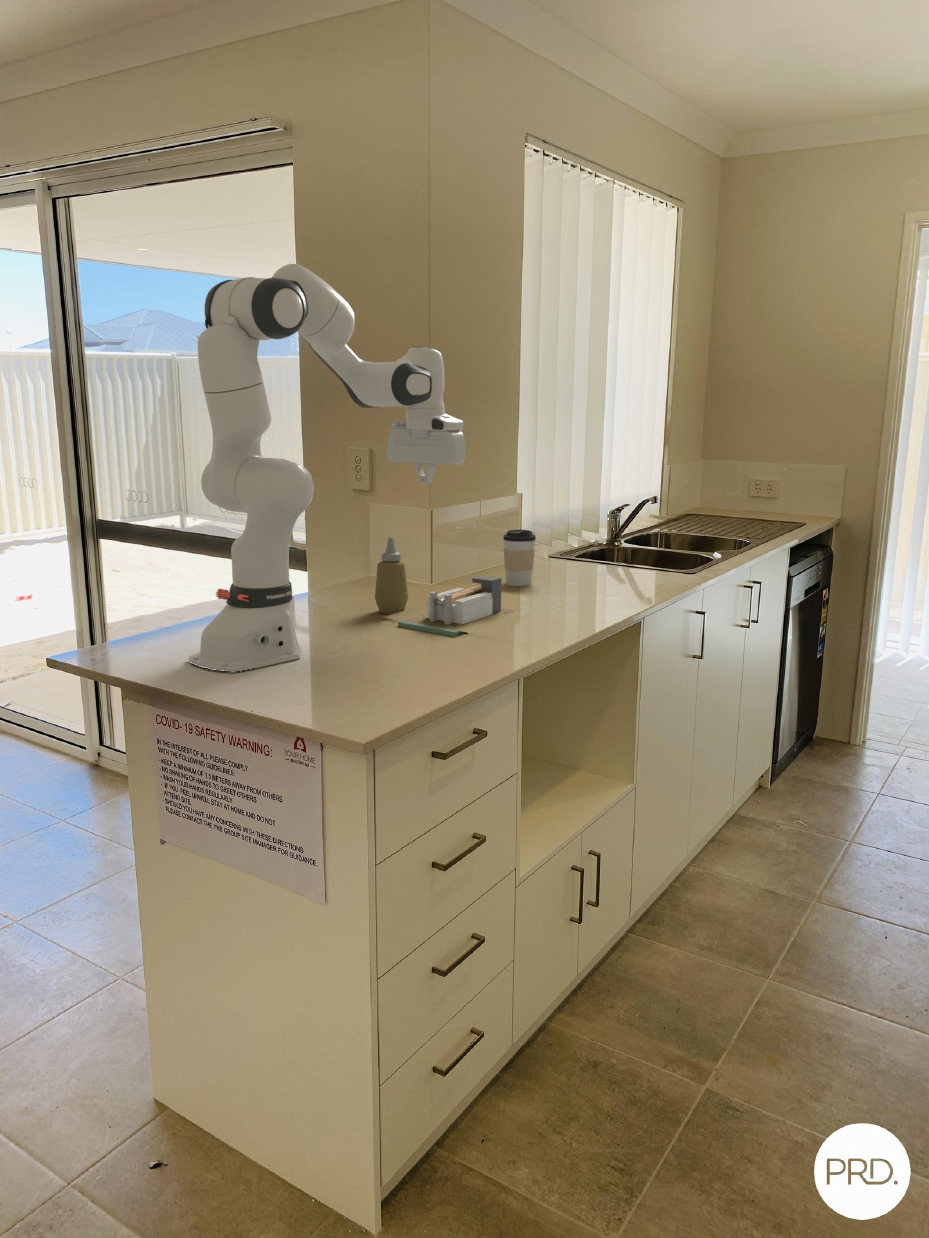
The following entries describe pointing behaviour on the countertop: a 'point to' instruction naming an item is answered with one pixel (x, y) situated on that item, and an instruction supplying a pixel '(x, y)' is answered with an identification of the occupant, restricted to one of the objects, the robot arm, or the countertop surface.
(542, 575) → the countertop surface
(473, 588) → the strap
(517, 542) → the coffee cup
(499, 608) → the block
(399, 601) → the squeeze bottle
